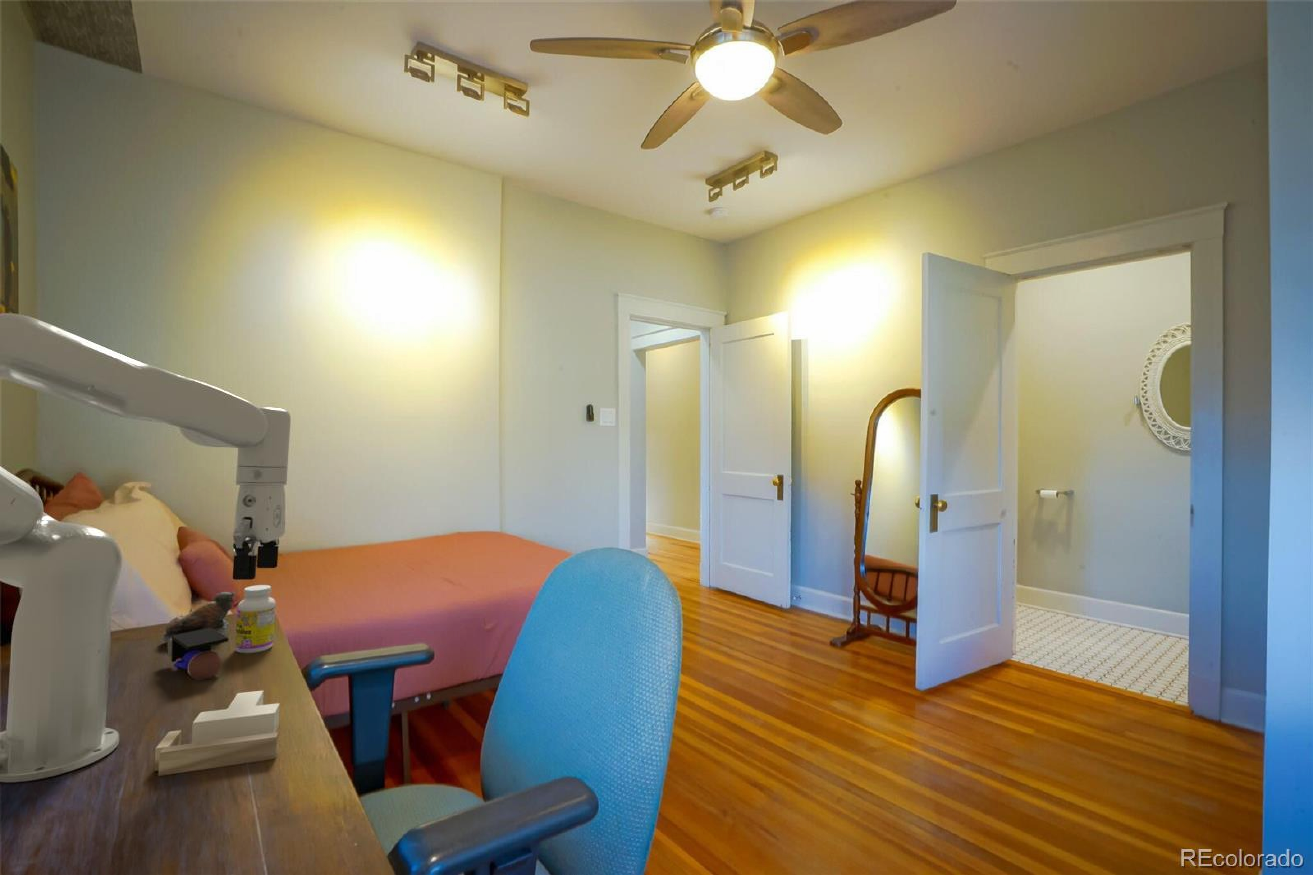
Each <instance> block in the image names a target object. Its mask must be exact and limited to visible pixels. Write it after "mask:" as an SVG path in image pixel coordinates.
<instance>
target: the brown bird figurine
mask: <svg viewBox="0 0 1313 875" xmlns="http://www.w3.org/2000/svg"><path fill="white" fill-rule="evenodd" d="M234 596H235V591H234V590H233V591H232V592H230V591H222V592H221V591H220V592H217V593H216V596H215V598H214V599H213V600H212V601H207V602H205V603H203V604H202V605H200V606H198V607H197V608H195V609H194V610H191V611H190V612H187V614H185V615H184V616H183V614H179V615H176V616H175V617H174V618H171V620H170V621H169V622H168V623H167V625H166V628H165V632H164V633H163V634H162V637H161V638H162V640H163V641H164V642H166V643H168V640H169V639H171V638H172V636H173V635H178V634H182V633H187V632H192V631H197V630H202V629H207V628H212V629H213V630H215V631H217V632H219V633H220V634H222V635H224V636H227V634H228V632H229V630H230V623H229V622H228V621H227V620H225V617H226V616H227V615H228V613H229V611H230V610H231V609H232V608H233V602H234V598H233V597H234Z"/></svg>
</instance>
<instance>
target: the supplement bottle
mask: <svg viewBox="0 0 1313 875" xmlns="http://www.w3.org/2000/svg"><path fill="white" fill-rule="evenodd" d="M271 592H272V587H271V585H268V584H257V585H251V586H247V587H245V588H244V589H243V595H244V599H243V600H241V601H239V603H238V604H237V612H236V613H237V615H236V627H235V628H236V630H235V647H234V649H235V652H236V653H237V652H238V653H241V654H254V653H260V652H264V651H267V650H269V649H271V647H273V645H274V641H275V640H274V638H275V618H276V600H275V599H274V598H273V597H271V596H270V594H271Z"/></svg>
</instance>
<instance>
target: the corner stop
mask: <svg viewBox="0 0 1313 875" xmlns="http://www.w3.org/2000/svg"><path fill="white" fill-rule="evenodd" d="M279 733H280V732H279V731H276V732H275V733H267V734H260V735H252V736H244V737H237V738H229V739H222V740H214V741H207V742H199V743H192V742H191V743H186V744H182V742H181V741H182V729H181V730H173V731H168V732H167V733H166V735H165V736H164V737H163V739H161V741H160V742H159V743H158V744H157V746H156V747H155V753H154V770H153V771H154V772H157V771H158V777H159V776H168V775H174V774H179V773H180V774H181V773H185V772H186V773H187V772H195V771H200V770H208V769H215V768H222V767H227V766H236V765H241V764H249V763H256V762H261V761H262V762H263V761H270V760H275V759H276V758H277V756H276V755H278V754H279V753H278V752H279V751H278V749H279Z"/></svg>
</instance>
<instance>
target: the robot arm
mask: <svg viewBox="0 0 1313 875" xmlns="http://www.w3.org/2000/svg"><path fill="white" fill-rule="evenodd" d="M0 380H3V381H4V380H7V381H9V382H12V383H16V384H18V385H21V386H25V387H28V388H30V389H32V390H36V391H39V392H42V393H46V394H49V395H52V396H54V397H58V398H60V399H62V400H63V399H64V400H67V401H69V402H72V403H76V404H78V405H80V406H82V407H83V406H84V407H87V408H89V409H93V410H95V411H98V412H101V413H104V414H107V415H112V416H117V417H119V418H120V417H121V418H124V419H129V420H130V419H131V420H140V421H147V422H155V423H159V424H165V425H170V426H173V427H177V428H178V429H179V430H180V433H181V435H182V436H183V437H184V438H185V439H186V440H187V441H189V442H190V443H193V444H195V445H198V446H203V447H209V448H210V447H211V448H232V449H237V462H236V474H235V475H236V476H235V477H236V478H235V486H239V488H238V493H237V499H236V500H237V501H236V507H235V516H234V526H233V527H234V528H233V533H232V537H233V544H232V547H233V552H232V554H233V555H232V556H233V564H232V566H233V567H232V579H233V580H235V581H236V580H237V581H238V580H239V581H240V580H244V581H245V580H247V581H248V580H251V581H252V580H254V579H256V574H257V569H276V568H277V567H278V560H279V545H280V539H279V538H281V537H283V536H284V535H285V533H286V531H285V530H286V493H285V486H287V485H288V482H287V481H288V470H289V469H288V466H289V454H290V453H289V452H290V451H289V449H290V435H291V434H290V433H291V414H290V413H289V411H287V410H286V409H282V408H276V407H268V406H267V407H265V406H257V405H255V404H254V403H252V402H250V401H248V400H246V399H243V398H242V397H240V396H237V395H235V394H232V393H230V392H228V391H225V390H223V389H221V388H219V387H216V386H213V385H211V384H208V383H205V382H201V381H200V380H196V379H193V378H190V377H187V376H183V375H179V374H177V373H174V372H171V371H169V370H166V369H164V368H163V369H162V368H160V367H156V366H153V365H151V364H147V363H144V362H143V363H142V362H141V361H138V360H135V359H133V358H130V357H129V356H128V357H127V356H125V355H123V354H120V353H118V352H116V351H114V350H111V349H108V348H106V347H104V346H101V345H99V344H97V343H95V342H92V341H90V340H87V339H85V338H82V337H81V336H79V335H76V334H73V333H71V332H68V331H67V330H65V329H63V328H60V327H57V326H55V325H52V324H51V323H47V322H45V321H44V320H43V321H42V320H40V319H37V318H36V317H35V318H34V317H32V316H28V315H24V314H20V313H12V312H11V313H10V312H5V313H4V312H3V313H2V312H1V313H0ZM258 545H259V546H258ZM256 550H257V552H256ZM256 553H257V554H256ZM255 554H256V555H255ZM122 567H123V556H122V551H121V548H120V545H118V543H117V542H116V540H115V539H114V538H113V537H112V536H111V535H109V533H106V531H104V530H101V529H99V528H96V527H93V526H89V525H86V524H77V523H73V522H72V523H71V522H63V521H59V520H57V519H55V518H53V517H52V516H51V515H49V514H47V513H46V512H44V503H43V500H42V499H41V496H40V495H39V493H38V492H37V491H36V490H35V489H34V487H32V486H31V485H30V484H29V483H27V482H26V481H24V480H23V479H21V478H19V477H18V476H16V475H15V474H13V473H11V472H9V471H8V470H7V469H5V468H4V467H2V466H1V465H0V582H1V583H5V584H7V585H10V586H12V587H13V586H14V587H15V588H21V589H22V592H21V597H20V600H19V603H18V606H17V609H16V611H15V616H14V620H13V625H12V632H11V639H10V640H11V643H10V664H9V681H8V696H7V714H6V727H5V730H3V731H0V783H23V782H31V781H37V780H42V779H47V778H50V777H55V776H58V775H61V774H65V773H68V772H72V771H75V770H78V769H80V768H83V767H87V766H88V765H90V764H93V763H95V762H96V761H99V760H101V759H102V758H104V757H105V756H108V755H109V754H110V753H112V752H113V751H114V750H115V748H116V749H117V747H118V745H119V743H120V733H119V731H117V730H116V729H114V728H109V727H106V720H107V719H106V717H107V702H108V701H107V700H108V699H107V698H108V684H109V668H110V666H109V665H110V664H109V663H110V651H111V650H110V649H111V648H110V647H111V632H112V631H111V630H112V616H113V615H112V614H113V606H114V600H115V594H116V590H117V586H118V583H119V579H120V577H121V576H120V575H121V572H122Z"/></svg>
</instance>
